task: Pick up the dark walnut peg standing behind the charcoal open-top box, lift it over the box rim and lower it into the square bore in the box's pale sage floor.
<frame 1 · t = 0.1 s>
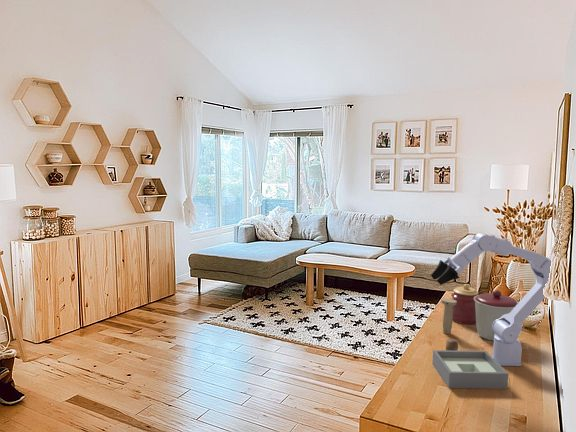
hand: (435, 280, 175), 32 cm above the sideboard, tool tilted 50°, fingers open, 7 cm apart
canister: (493, 337, 203), on the sideboard
handle: (446, 333, 207), on the sideboard
peg: (451, 355, 184), on the sideboard
socket box: (467, 375, 168), on the sideboard
canister 2: (463, 320, 224), on the sideboard
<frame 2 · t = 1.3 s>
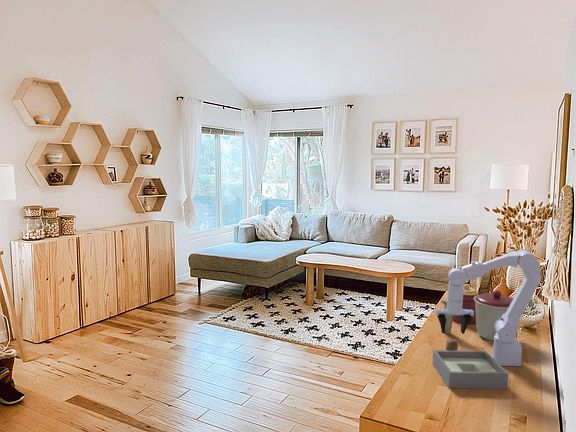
hand: (452, 332, 183), 9 cm above the sideboard, tool pointing down, fingers open, 7 cm apart
nothing on the sideboard moved.
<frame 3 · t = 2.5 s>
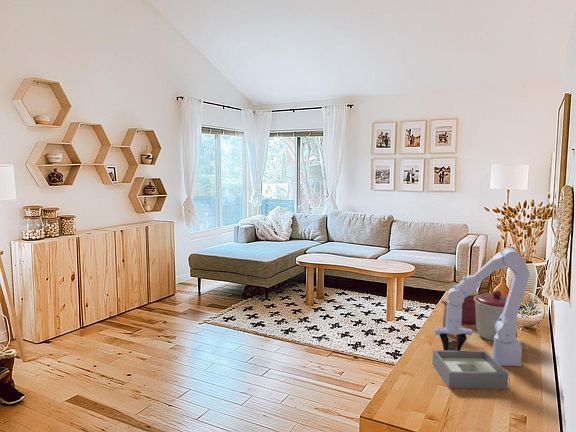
hand: (451, 351, 184), 1 cm above the sideboard, tool pointing down, fingers closed on peg, 4 cm apart
peg: (451, 355, 184), on the sideboard, touching gripper
everything else where it was.
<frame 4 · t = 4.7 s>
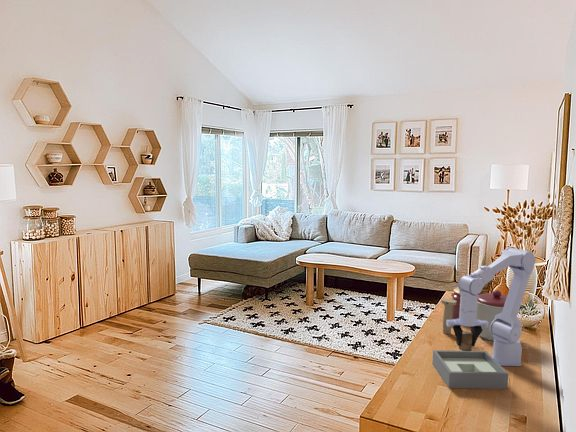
hand: (465, 345, 170), 10 cm above the sideboard, tool pointing down, fingers closed on peg, 4 cm apart
peg: (465, 348, 170), point 8 cm above the sideboard, touching gripper
everything else where it was.
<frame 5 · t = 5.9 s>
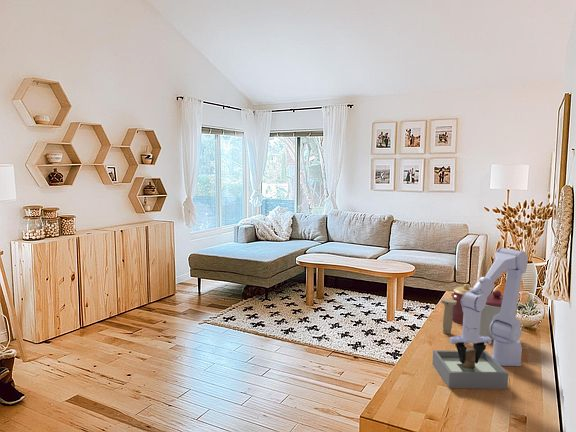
hand: (468, 362, 167), 5 cm above the sideboard, tool pointing down, fingers closed on peg, 4 cm apart
peg: (468, 366, 167), point 4 cm above the sideboard, touching gripper
everything else where it was.
when the fingers open (3 cm above the sideboard, at t = 6.7 s): peg drops 2 cm, resting in socket box.
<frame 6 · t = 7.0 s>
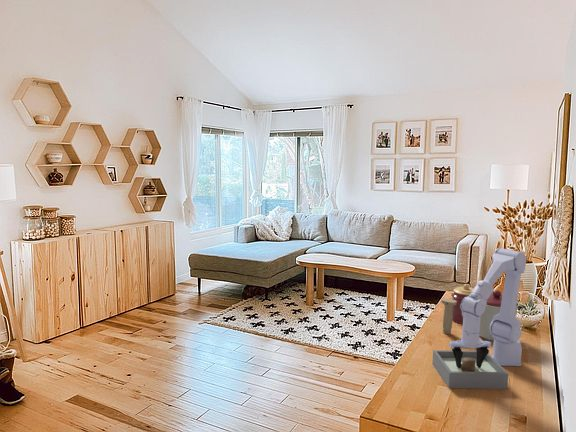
hand: (468, 366, 167), 3 cm above the sideboard, tool pointing down, fingers open, 7 cm apart
peg: (467, 375, 168), resting in socket box
everything else where it was.
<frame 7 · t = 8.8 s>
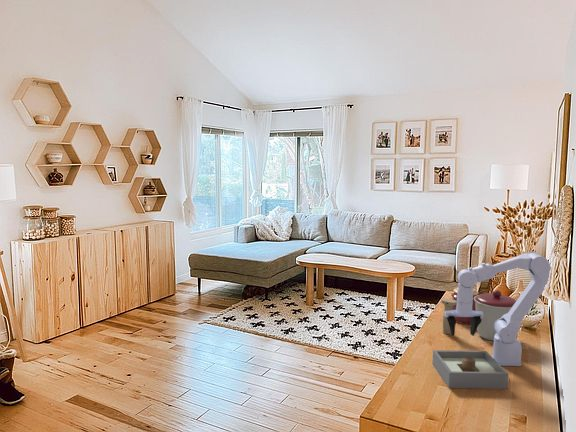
hand: (462, 334, 181), 9 cm above the sideboard, tool pointing down, fingers open, 7 cm apart
nothing on the sideboard moved.
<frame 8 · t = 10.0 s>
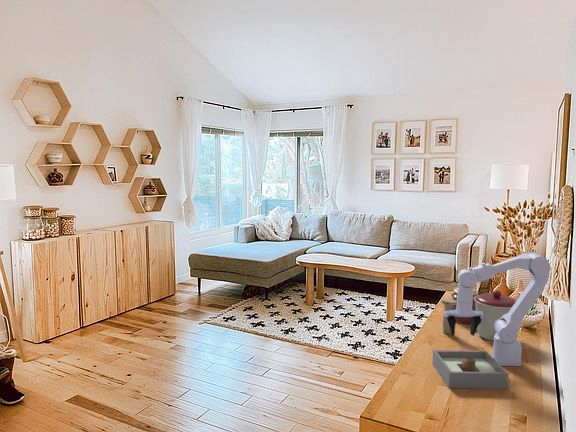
hand: (462, 334, 181), 9 cm above the sideboard, tool pointing down, fingers open, 7 cm apart
nothing on the sideboard moved.
at the end: peg 0.1 cm off-centre on the socket box, point 0.0 cm above the socket box's base; peg tilted 0°; the gripper is holding nothing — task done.
